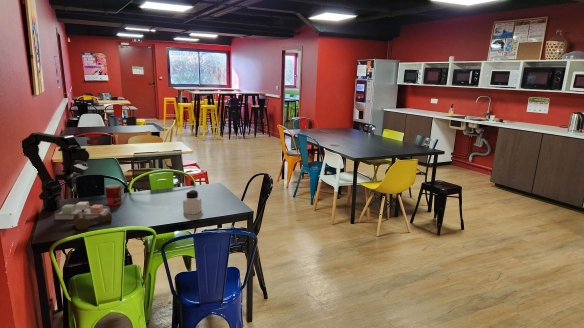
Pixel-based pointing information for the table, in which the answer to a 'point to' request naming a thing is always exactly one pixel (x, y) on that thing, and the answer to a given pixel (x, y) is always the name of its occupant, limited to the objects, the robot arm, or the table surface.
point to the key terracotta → (96, 208)
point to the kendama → (89, 220)
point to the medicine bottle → (192, 203)
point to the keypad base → (85, 212)
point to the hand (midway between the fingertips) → (71, 188)
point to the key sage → (68, 208)
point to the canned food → (113, 194)
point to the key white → (82, 205)
